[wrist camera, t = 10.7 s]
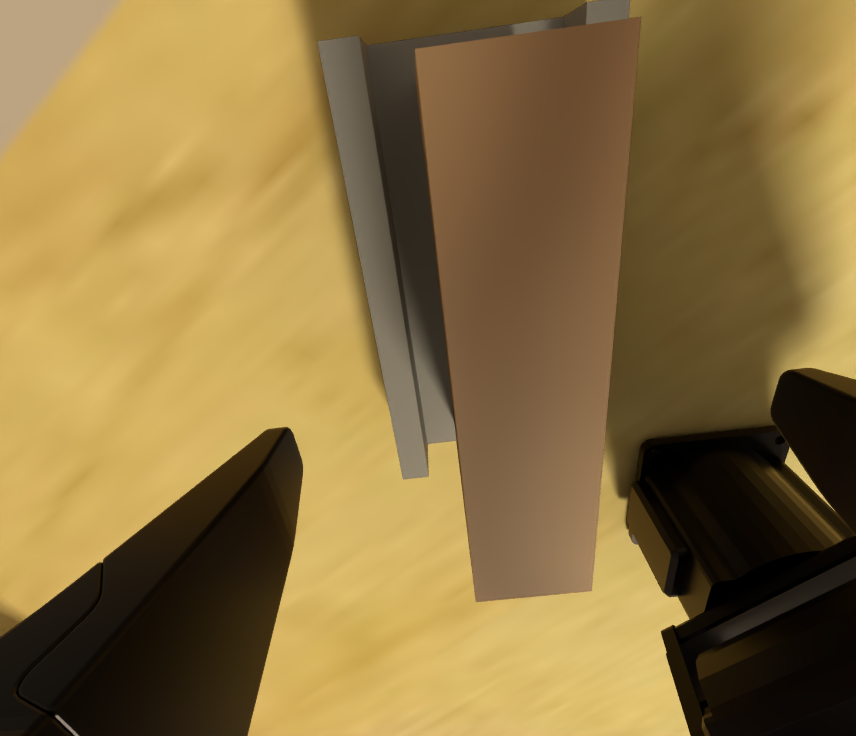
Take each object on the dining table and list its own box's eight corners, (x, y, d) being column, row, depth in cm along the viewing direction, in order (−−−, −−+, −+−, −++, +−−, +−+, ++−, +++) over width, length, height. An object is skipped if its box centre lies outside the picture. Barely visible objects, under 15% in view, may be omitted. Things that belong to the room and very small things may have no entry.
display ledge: (588, 17, 13) (630, -4, 11) (572, 413, 20) (595, 458, 18) (336, 54, 14) (317, 41, 11) (404, 432, 20) (403, 479, 18)
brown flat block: (521, 66, 13) (640, 16, 6) (526, 413, 19) (591, 591, 12) (415, 80, 13) (414, 48, 6) (453, 421, 19) (475, 601, 12)
